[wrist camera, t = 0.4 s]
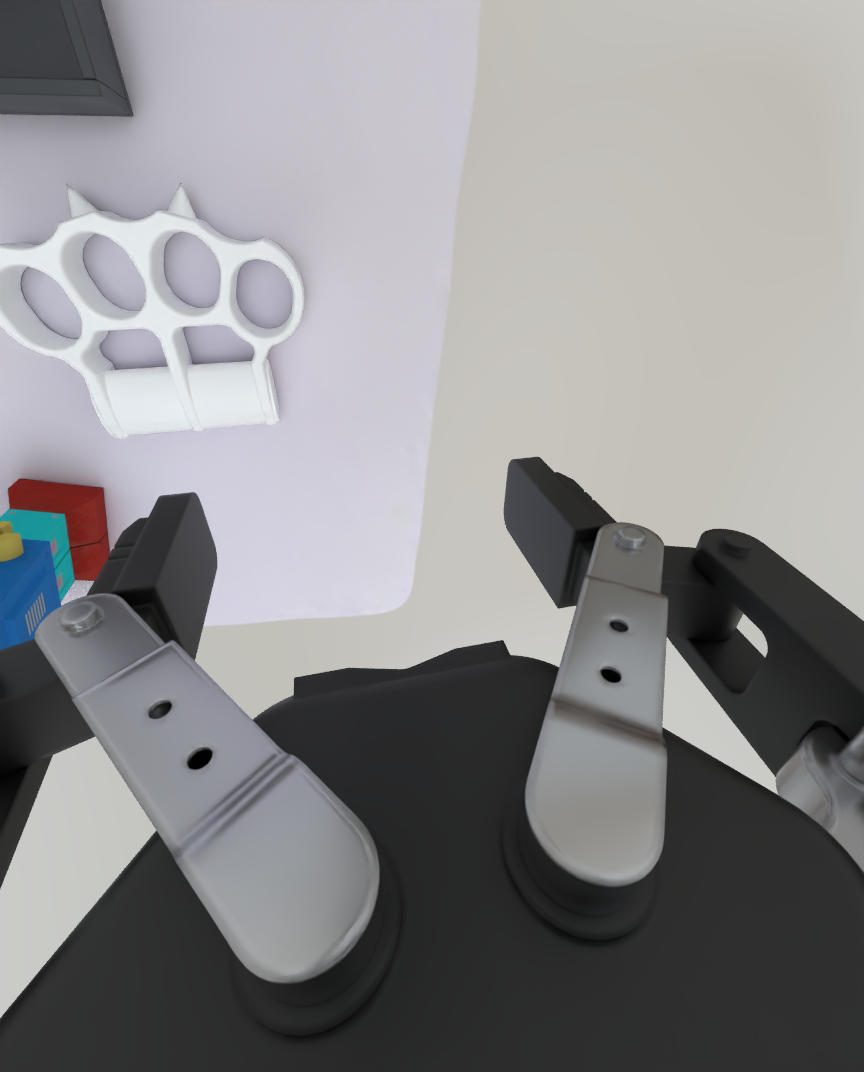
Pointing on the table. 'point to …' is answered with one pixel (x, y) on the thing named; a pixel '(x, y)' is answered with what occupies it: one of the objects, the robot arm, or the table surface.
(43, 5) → the storage box
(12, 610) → the toy robot
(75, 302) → the knuckle duster
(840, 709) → the robot arm
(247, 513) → the table surface
